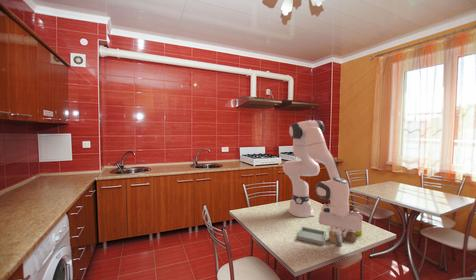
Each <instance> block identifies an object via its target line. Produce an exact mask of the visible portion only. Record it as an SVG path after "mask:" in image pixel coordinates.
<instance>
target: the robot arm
mask: <svg viewBox="0 0 476 280" xmlns="http://www.w3.org/2000/svg"><path fill="white" fill-rule="evenodd" d="M288 130H289V131H288V133H289V135H290V138H291V139H292V153H293V155H294V156H295V158H298V159H300V160H287V161H285V162H284V163H283V164H282V171H283V173H284V174H285V175H286V176H287V177H288V178H289V179H290V181H291V185H292V196H291V198H292V199H291V200H290V201H289V202H290V203H289V209H288V210H287V213H289V214H291V215H292V216H294V217H298V218H308V217H309V218H310V217H314V216H315V213H314V212H315V211H314V208H313V207H312V203H311V201H310V195H309V194H310V193H309V190H310V189H309V188H310V187H309V183H308V182H307V181H305V180H303V179H302V178H301V177H314V176H318V175H319V173H320V171H321V167H320V164H322V165H324V166H325V168H326V170H327V174H328V176H329V178H330V179H329V180H325V181H319V182H317V183H316V185H315V193H316V196H317V197H318V198H319V199H321V200H329V201H330V203H326V204H322V205H321V208H320V212H319V216H318V223H319V225H323V226H327V227H328V226H329V229H330V228H331V230H332V231H333V235H336V231H334V229H333V228H336V227H337V228H343V229H345V232H343V237H346V234H347V232H348V230H353V231H358V232H360V231H361V230H362V227H363V226H362V227H361V221H362V222H363V220H364V219H363V215H362V214H361V213H360V212H359V211H353V210H350V202H349V198H350V187H349V181H348V180H346V179H345V178H343V177H342V175H341V173H340V170H339V168H338V164H337V162H336V160H335V158H334V156H333V154H332V153H331V152H330V151H329V149H328V147H327V143H326V139H325V136H324V132H325V125H324V123H323V121H321V120H319V119H315V120H304V121H299V122H293V123H291V124H290V125H289V127H288ZM319 163H320V164H319ZM362 231H363V230H362Z"/></svg>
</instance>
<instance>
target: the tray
mask: <svg viewBox="0 0 476 280" xmlns="http://www.w3.org/2000/svg"><path fill="white" fill-rule="evenodd" d="M326 232H327V231H325V230H321V229H316V228H311V227H306V226H301V228H300V230H299V232H298V234H297V236H296V240H297V241H302V242H305V243H309V244H315V245H319V246H324V243H325V238H326V236H327V235H326Z"/></svg>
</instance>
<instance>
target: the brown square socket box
mask: <svg viewBox="0 0 476 280" xmlns="http://www.w3.org/2000/svg"><path fill="white" fill-rule="evenodd" d="M343 232H345V229H343V228H342V240H346V241H350V242H357V241H356V240H357V235H356V231H353V230H348V232H347V234H346V237H343Z"/></svg>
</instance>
